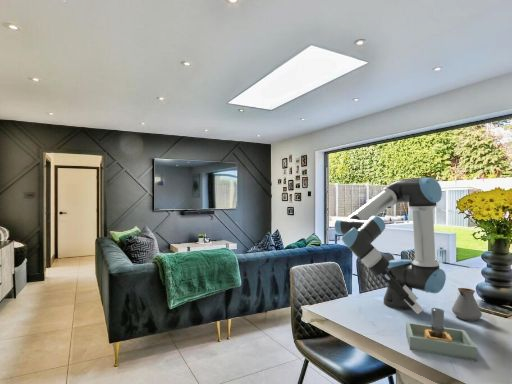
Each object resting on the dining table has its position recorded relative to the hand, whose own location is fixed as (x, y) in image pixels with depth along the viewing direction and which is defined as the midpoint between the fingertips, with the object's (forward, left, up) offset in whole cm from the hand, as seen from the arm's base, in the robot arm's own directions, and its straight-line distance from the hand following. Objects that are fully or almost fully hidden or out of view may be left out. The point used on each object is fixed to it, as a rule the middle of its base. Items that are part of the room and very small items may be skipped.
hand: (417, 305), depth 116 cm
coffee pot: (-34, +23, -14) cm, 43 cm away
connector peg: (-1, +7, -13) cm, 14 cm away
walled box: (0, +7, -14) cm, 15 cm away
